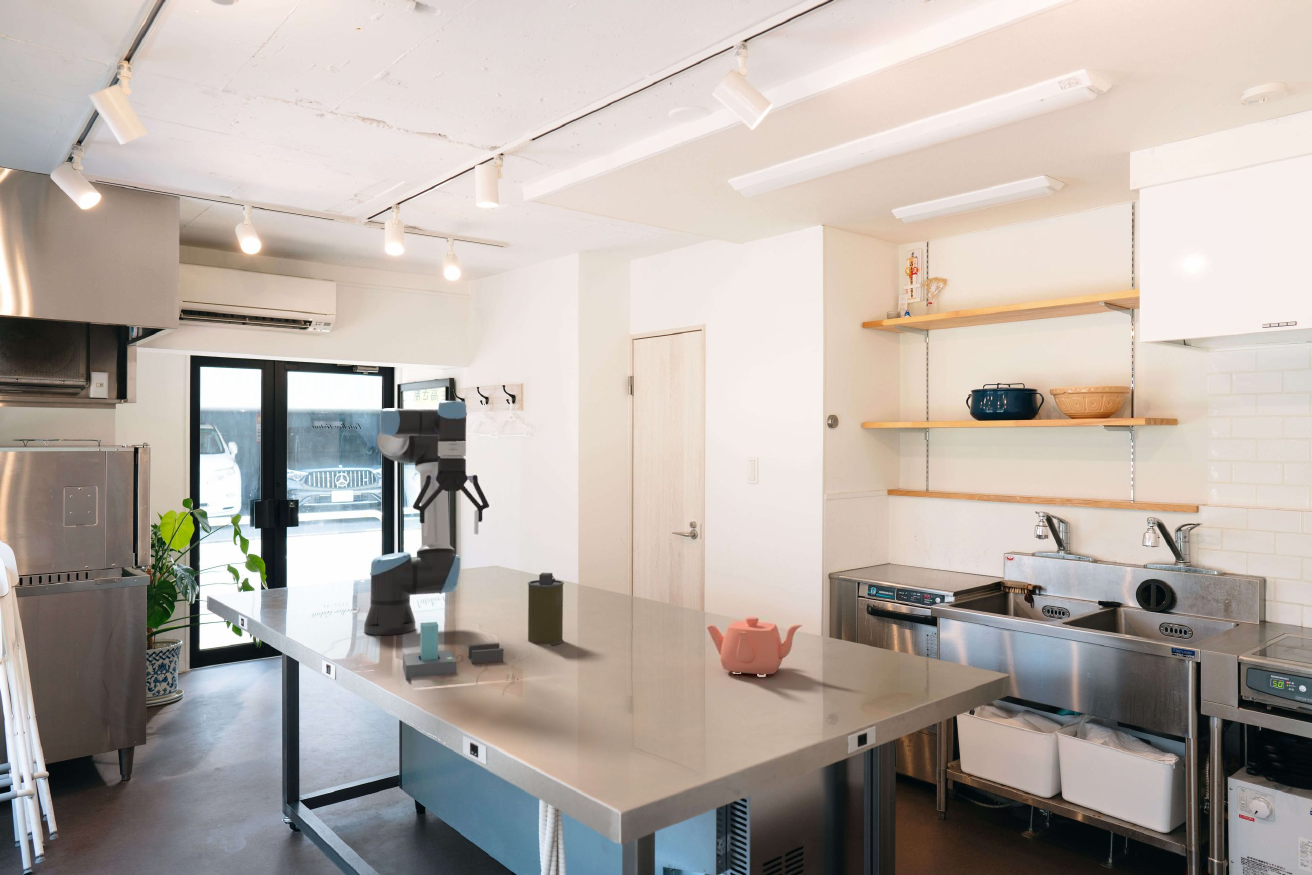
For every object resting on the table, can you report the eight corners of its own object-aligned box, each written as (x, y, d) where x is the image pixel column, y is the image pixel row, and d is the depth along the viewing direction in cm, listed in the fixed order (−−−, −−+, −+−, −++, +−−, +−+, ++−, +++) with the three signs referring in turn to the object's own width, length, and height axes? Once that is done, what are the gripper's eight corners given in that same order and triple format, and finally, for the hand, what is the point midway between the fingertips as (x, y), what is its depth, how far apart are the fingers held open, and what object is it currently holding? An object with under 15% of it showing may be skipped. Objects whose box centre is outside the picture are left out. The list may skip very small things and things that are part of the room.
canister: (556, 646, 238) (557, 576, 238) (521, 644, 240) (522, 575, 240) (568, 638, 249) (568, 571, 249) (534, 636, 251) (535, 569, 251)
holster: (468, 659, 224) (468, 645, 224) (498, 656, 226) (498, 642, 226) (472, 666, 217) (472, 651, 217) (503, 663, 220) (503, 649, 220)
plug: (420, 670, 213) (420, 622, 213) (436, 668, 214) (436, 621, 214) (421, 674, 209) (421, 626, 209) (437, 672, 210) (438, 625, 211)
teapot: (803, 676, 210) (803, 621, 210) (740, 685, 202) (741, 627, 202) (762, 659, 226) (763, 608, 226) (703, 667, 218) (703, 613, 218)
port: (402, 667, 215) (403, 651, 215) (450, 663, 219) (450, 647, 219) (406, 679, 204) (406, 662, 204) (456, 675, 208) (456, 658, 208)
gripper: (405, 457, 222) (404, 537, 222) (499, 457, 230) (499, 534, 230) (403, 457, 229) (402, 534, 229) (495, 457, 237) (494, 531, 237)
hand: (451, 534), depth 229 cm, fingers open, 13 cm apart
